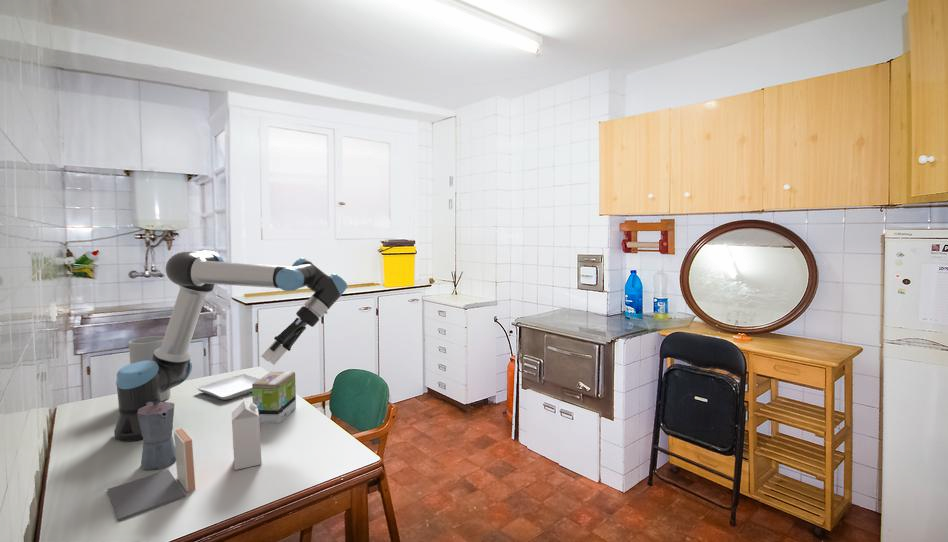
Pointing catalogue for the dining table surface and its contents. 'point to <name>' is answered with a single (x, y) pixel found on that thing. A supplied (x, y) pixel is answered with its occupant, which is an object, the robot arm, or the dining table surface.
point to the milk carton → (246, 436)
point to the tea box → (274, 396)
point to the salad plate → (230, 387)
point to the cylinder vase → (146, 353)
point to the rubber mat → (144, 494)
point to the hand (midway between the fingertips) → (267, 360)
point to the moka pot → (157, 434)
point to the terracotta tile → (184, 459)
